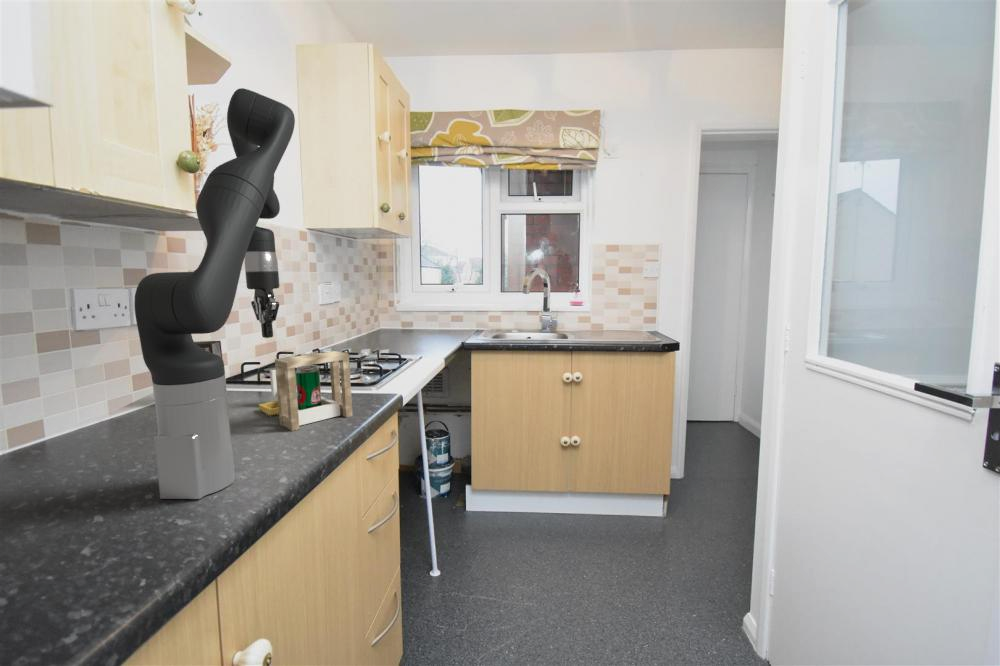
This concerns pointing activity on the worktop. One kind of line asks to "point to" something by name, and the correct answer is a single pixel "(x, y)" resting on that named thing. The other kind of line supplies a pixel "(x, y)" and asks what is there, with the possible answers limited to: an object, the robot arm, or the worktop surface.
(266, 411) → the yellow rectangular frame
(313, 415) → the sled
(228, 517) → the worktop surface
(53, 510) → the worktop surface
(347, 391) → the tunnel
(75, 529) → the worktop surface
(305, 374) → the soda can
